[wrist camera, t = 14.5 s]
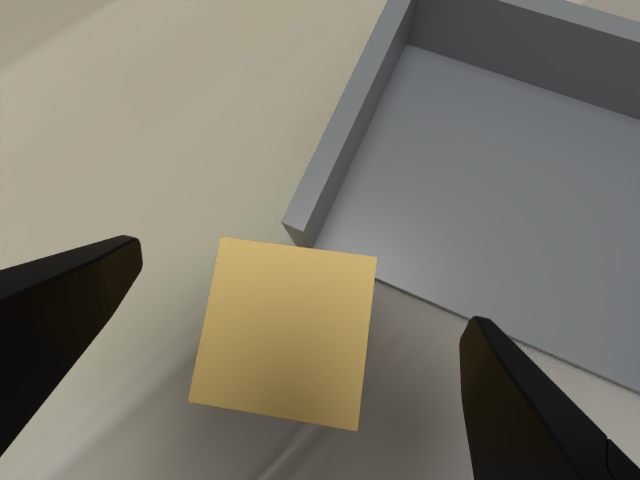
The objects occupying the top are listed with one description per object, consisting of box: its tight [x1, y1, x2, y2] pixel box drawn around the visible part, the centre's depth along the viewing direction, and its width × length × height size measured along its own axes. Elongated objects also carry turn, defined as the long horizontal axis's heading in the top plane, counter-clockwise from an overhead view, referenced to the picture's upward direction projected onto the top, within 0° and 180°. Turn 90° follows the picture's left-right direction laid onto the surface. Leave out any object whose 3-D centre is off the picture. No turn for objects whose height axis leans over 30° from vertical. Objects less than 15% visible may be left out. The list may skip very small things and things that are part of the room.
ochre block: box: [188, 237, 377, 431], centre depth 17 cm, size 5×5×12 cm
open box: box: [281, 0, 640, 394], centre depth 20 cm, size 17×24×6 cm
